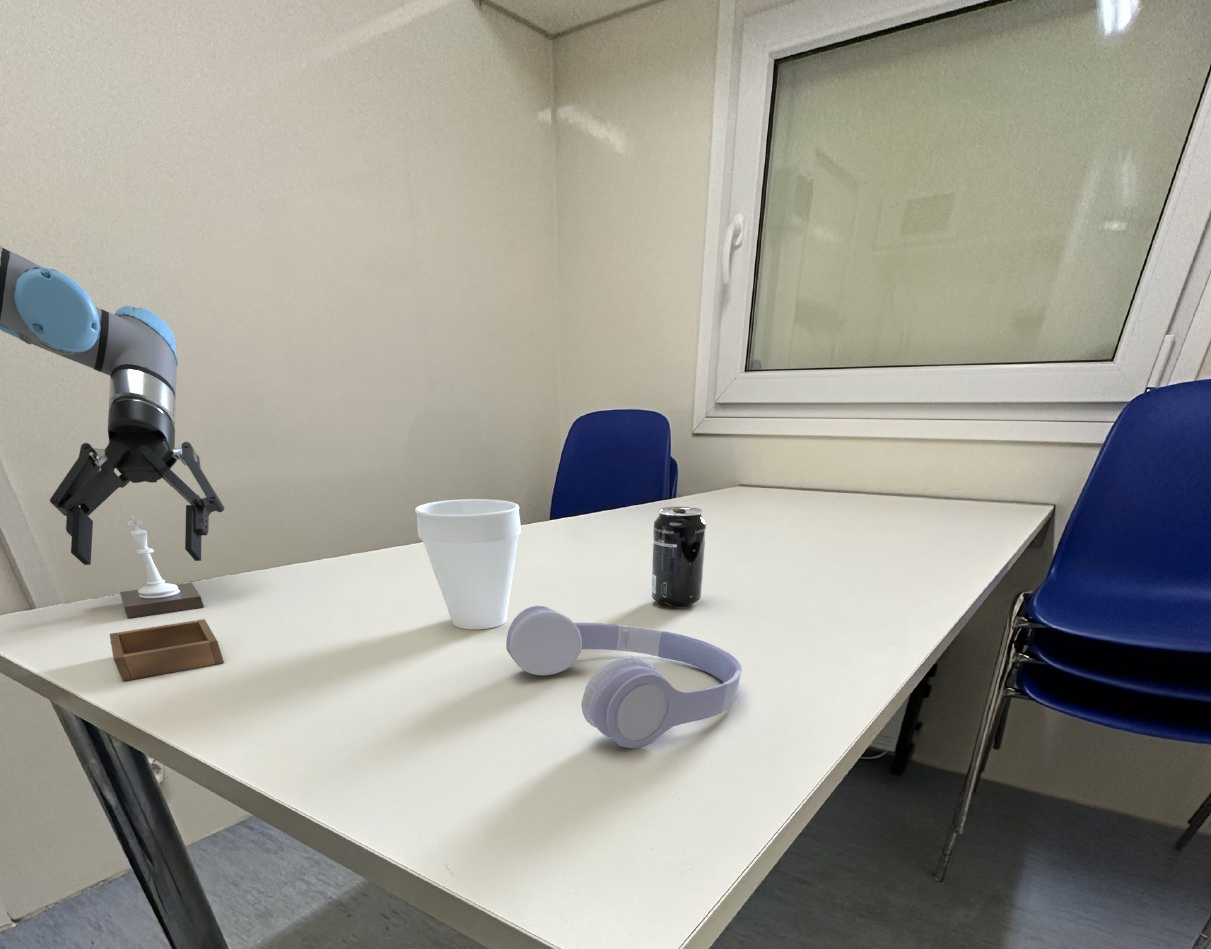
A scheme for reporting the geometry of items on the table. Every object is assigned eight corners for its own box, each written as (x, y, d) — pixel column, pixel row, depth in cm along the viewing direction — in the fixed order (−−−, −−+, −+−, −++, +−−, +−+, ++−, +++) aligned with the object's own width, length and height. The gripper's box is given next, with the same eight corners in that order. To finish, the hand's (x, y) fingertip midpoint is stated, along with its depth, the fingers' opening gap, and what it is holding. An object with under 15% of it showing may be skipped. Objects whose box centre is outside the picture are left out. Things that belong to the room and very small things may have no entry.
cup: (511, 639, 80) (502, 516, 73) (415, 633, 82) (396, 513, 75) (537, 609, 90) (531, 499, 83) (451, 605, 92) (437, 497, 85)
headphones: (596, 758, 54) (785, 723, 63) (601, 675, 51) (800, 649, 59) (499, 671, 71) (659, 652, 79) (497, 603, 67) (665, 591, 76)
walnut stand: (128, 618, 88) (123, 607, 87) (124, 602, 94) (119, 591, 93) (204, 607, 92) (200, 596, 91) (195, 592, 98) (192, 582, 98)
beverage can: (693, 595, 96) (699, 505, 90) (706, 609, 90) (713, 513, 84) (647, 597, 95) (649, 506, 89) (656, 611, 90) (660, 514, 83)
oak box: (122, 681, 69) (113, 658, 68) (118, 655, 76) (109, 633, 75) (224, 662, 74) (217, 640, 72) (211, 639, 81) (204, 618, 79)
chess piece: (133, 594, 92) (104, 516, 87) (171, 587, 95) (145, 511, 90) (147, 600, 89) (117, 520, 84) (185, 593, 93) (159, 515, 87)
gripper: (249, 438, 97) (250, 569, 93) (61, 440, 94) (52, 576, 89) (227, 395, 90) (226, 535, 85) (22, 397, 87) (10, 542, 82)
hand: (137, 557), depth 87 cm, fingers open, 13 cm apart
